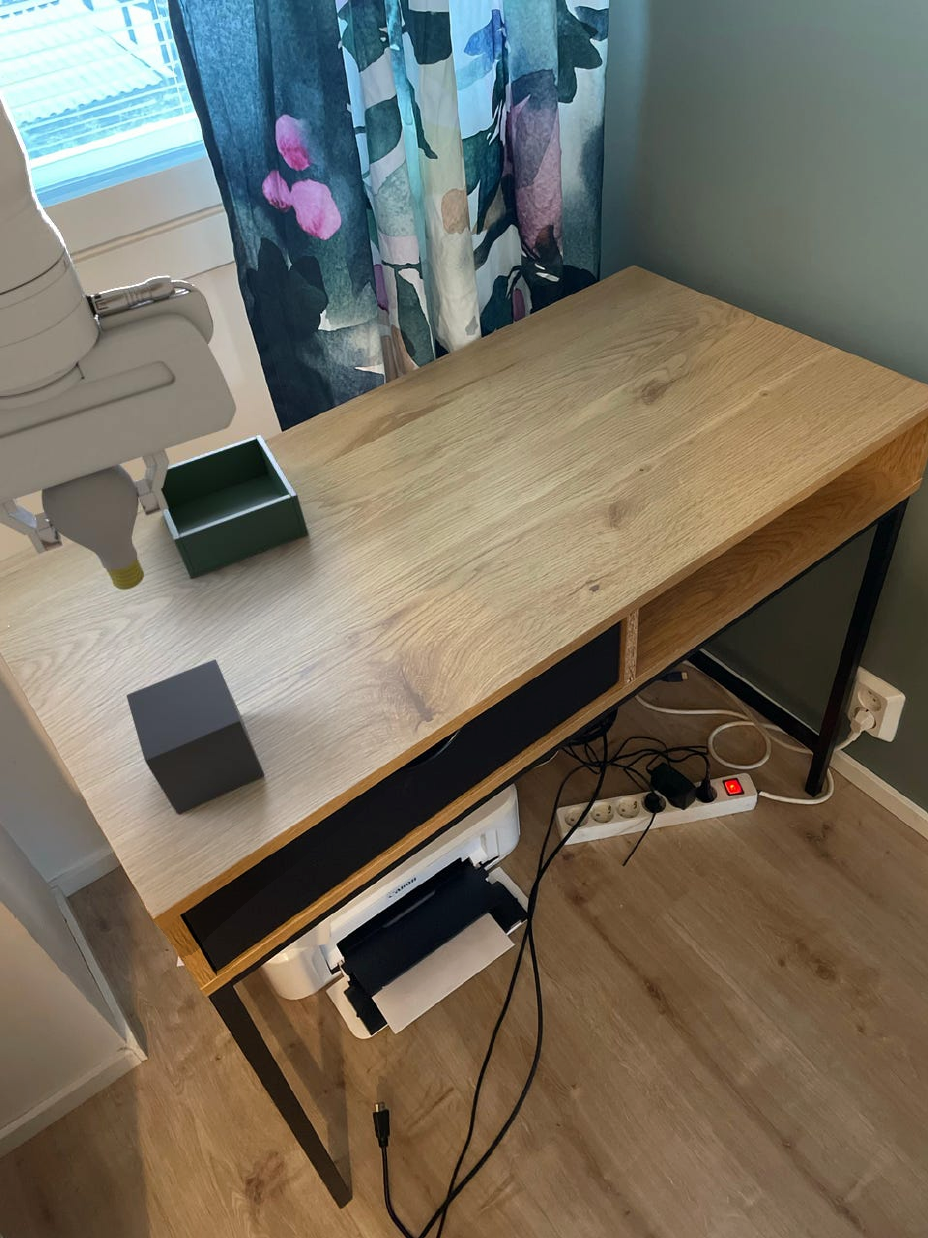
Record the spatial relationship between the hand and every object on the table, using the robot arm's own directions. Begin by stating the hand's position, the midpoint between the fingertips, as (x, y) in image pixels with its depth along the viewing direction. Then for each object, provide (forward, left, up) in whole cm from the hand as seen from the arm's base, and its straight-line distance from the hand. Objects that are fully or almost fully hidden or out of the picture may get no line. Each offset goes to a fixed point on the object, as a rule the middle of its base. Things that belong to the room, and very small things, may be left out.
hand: (103, 526), depth 57 cm
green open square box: (+9, +26, -23) cm, 36 cm away
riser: (-1, -2, -23) cm, 23 cm away
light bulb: (0, 0, -5) cm, 5 cm away
